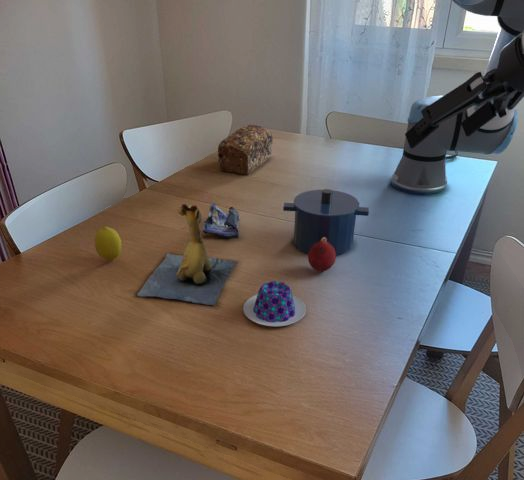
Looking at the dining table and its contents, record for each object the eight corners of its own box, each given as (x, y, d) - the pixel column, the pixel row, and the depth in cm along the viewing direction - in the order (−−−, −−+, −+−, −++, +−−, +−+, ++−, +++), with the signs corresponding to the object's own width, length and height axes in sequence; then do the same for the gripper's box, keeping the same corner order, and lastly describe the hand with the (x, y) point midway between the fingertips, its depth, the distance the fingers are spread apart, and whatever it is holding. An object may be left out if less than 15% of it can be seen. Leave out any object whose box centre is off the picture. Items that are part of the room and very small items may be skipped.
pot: (285, 227, 134) (286, 190, 129) (363, 232, 133) (368, 194, 127) (279, 253, 124) (281, 213, 118) (364, 259, 122) (370, 219, 116)
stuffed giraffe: (237, 261, 120) (232, 192, 110) (214, 307, 106) (206, 233, 96) (168, 256, 123) (157, 187, 113) (137, 300, 109) (122, 227, 99)
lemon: (128, 257, 122) (123, 223, 117) (115, 268, 117) (109, 234, 113) (106, 253, 123) (100, 219, 118) (93, 264, 119) (86, 230, 114)
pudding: (245, 294, 110) (244, 271, 106) (304, 295, 109) (306, 272, 106) (241, 328, 100) (240, 304, 97) (306, 330, 100) (308, 306, 97)
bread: (244, 153, 179) (244, 121, 173) (274, 158, 175) (275, 125, 169) (216, 171, 165) (215, 137, 159) (248, 176, 162) (248, 142, 156)
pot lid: (296, 192, 129) (296, 177, 127) (358, 195, 128) (360, 180, 126) (290, 218, 118) (291, 202, 115) (359, 222, 116) (361, 206, 114)
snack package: (258, 227, 135) (221, 214, 140) (256, 204, 130) (218, 192, 135) (229, 253, 128) (191, 238, 133) (226, 230, 123) (187, 216, 128)
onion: (329, 281, 114) (332, 246, 109) (303, 275, 116) (305, 241, 111) (337, 268, 118) (341, 234, 113) (312, 263, 120) (314, 229, 115)
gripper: (488, 86, 72) (392, 166, 91) (601, 68, 82) (494, 143, 101) (466, 34, 72) (375, 125, 91) (582, 23, 82) (478, 106, 102)
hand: (437, 135), depth 96 cm, fingers open, 13 cm apart
